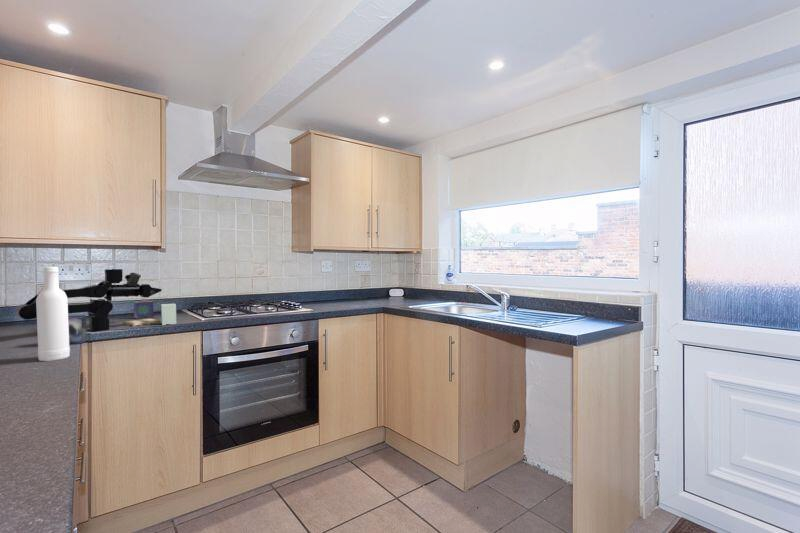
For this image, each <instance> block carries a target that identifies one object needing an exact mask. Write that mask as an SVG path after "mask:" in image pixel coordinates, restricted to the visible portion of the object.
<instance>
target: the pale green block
mask: <svg viewBox="0 0 800 533" xmlns="http://www.w3.org/2000/svg"><path fill="white" fill-rule="evenodd" d="M160 316H161V320H160V323H161V325H162V326H167V325H166V324H170V325H177V305H176V303H175V302H174V303H163V304H160Z"/></svg>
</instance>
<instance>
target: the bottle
mask: <svg viewBox="0 0 800 533" xmlns="http://www.w3.org/2000/svg"><path fill="white" fill-rule="evenodd" d="M59 273H60V270H59V267H58V266H44V267H43V271H42V274H43V282H44V284H43V289H42V290H40V291H41V292H40V291H39V292H40V293H39V292H38V293H39V294H38V293H37V294H38V296H37V299H36V308H37V318H36V330H37V331H36V332H37V357H38V360H39V361H40V362H52V361H59V360H64V359H67V358H69V357H70V355H71V347H70V345H69V324H68V316H69V313H68V305H69V304H68V302H69V298H67V296H66V294H65V292H64V291H63V290H64V289H61V288H60V282H59V281H60V279H59V277H60V276H59Z"/></svg>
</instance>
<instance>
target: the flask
mask: <svg viewBox="0 0 800 533" xmlns="http://www.w3.org/2000/svg"><path fill="white" fill-rule="evenodd" d="M154 314H155V312H154V302H153V301H152V300H146V297H143V298H142V299H141V301H134V302H133V319H134V318H143V319H154V318H153V317H155V316H154Z"/></svg>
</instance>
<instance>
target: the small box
mask: <svg viewBox="0 0 800 533" xmlns="http://www.w3.org/2000/svg"><path fill="white" fill-rule="evenodd" d="M68 324H69V346H70V345H82V344H85V342H87V341H88V339H87V337H88V336H87V335H88V334H87V314H79V315H68Z"/></svg>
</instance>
